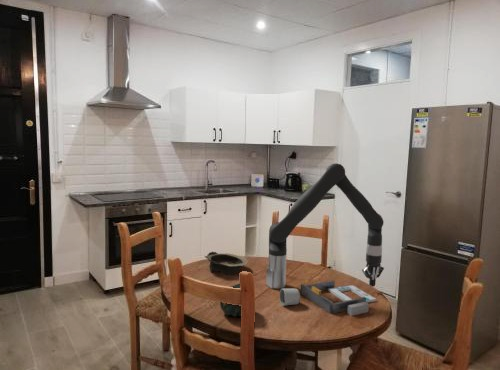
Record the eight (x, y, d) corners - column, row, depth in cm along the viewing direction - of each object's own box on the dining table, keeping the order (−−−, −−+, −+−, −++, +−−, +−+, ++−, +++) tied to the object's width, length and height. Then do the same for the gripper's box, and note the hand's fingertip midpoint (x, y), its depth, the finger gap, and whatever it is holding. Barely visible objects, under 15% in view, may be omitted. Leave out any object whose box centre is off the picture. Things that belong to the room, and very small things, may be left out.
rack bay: (330, 313, 170) (331, 298, 169) (300, 293, 192) (301, 280, 191) (365, 306, 179) (366, 291, 178) (332, 287, 201) (333, 274, 200)
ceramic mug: (301, 306, 177) (301, 290, 176) (284, 308, 174) (285, 292, 174) (292, 297, 187) (292, 282, 186) (276, 299, 184) (276, 284, 184)
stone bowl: (195, 271, 220) (196, 255, 220) (223, 263, 241) (224, 248, 240) (230, 280, 206) (231, 263, 206) (255, 271, 227) (256, 256, 226)
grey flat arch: (328, 287, 196) (352, 284, 202) (328, 292, 196) (352, 288, 202) (350, 302, 179) (376, 297, 185) (349, 306, 180) (375, 302, 185)
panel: (351, 316, 169) (351, 307, 168) (347, 313, 171) (347, 305, 170) (368, 312, 173) (368, 303, 173) (364, 310, 175) (365, 301, 175)
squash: (214, 295, 173) (223, 279, 163) (245, 292, 180) (255, 276, 169) (221, 326, 165) (231, 310, 155) (253, 321, 171) (264, 306, 161)
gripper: (378, 249, 200) (376, 281, 202) (358, 252, 195) (357, 285, 197) (389, 253, 194) (387, 286, 196) (369, 256, 188) (367, 290, 190)
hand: (372, 285), depth 196 cm, fingers closed
